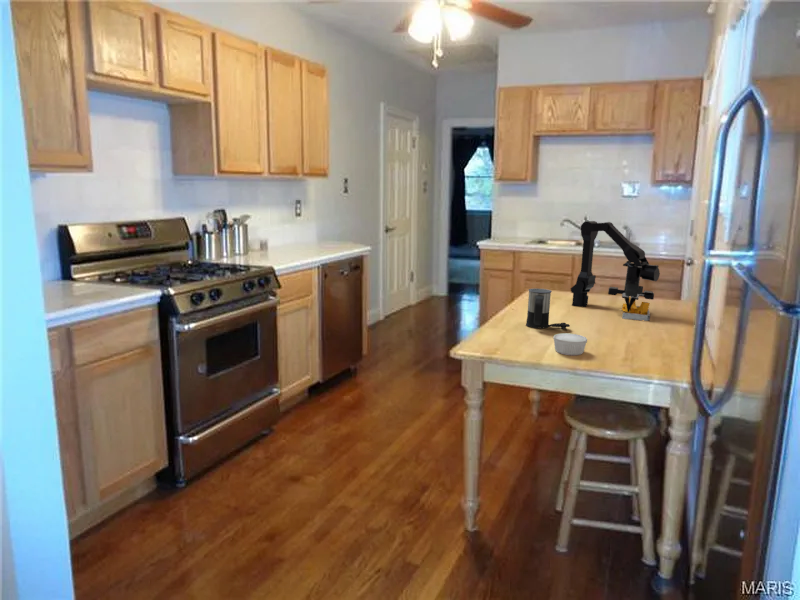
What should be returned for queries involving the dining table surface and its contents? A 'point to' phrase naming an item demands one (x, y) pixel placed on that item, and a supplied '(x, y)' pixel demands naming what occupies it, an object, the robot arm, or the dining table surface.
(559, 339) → the ramekin
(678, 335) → the dining table surface
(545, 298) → the milk frother
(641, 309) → the pipe clamp
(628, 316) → the rail bay
